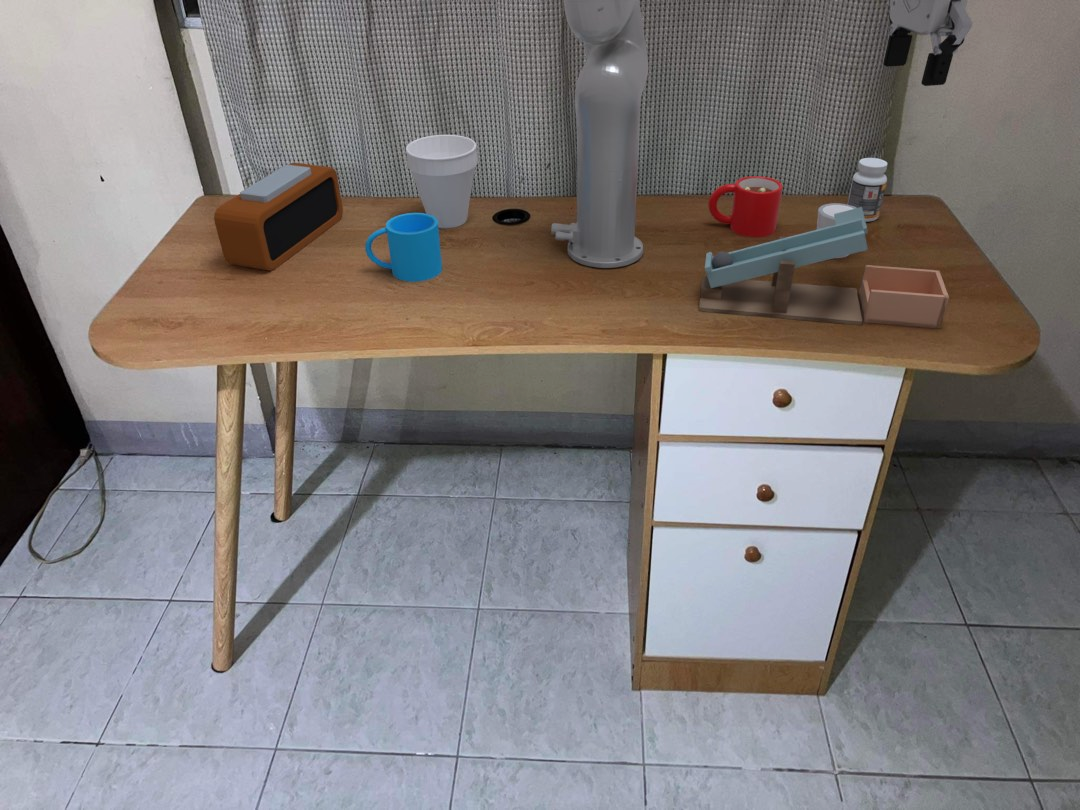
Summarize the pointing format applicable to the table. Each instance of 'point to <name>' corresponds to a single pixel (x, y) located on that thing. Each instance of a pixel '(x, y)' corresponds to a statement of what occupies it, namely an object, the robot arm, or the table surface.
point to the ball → (722, 260)
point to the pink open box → (903, 296)
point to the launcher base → (783, 299)
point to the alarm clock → (279, 215)
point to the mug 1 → (411, 247)
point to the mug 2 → (750, 205)
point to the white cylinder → (830, 215)
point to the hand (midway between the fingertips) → (912, 74)
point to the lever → (794, 250)
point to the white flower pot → (444, 175)
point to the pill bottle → (869, 187)
